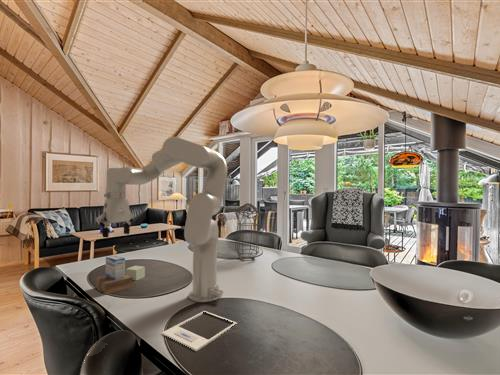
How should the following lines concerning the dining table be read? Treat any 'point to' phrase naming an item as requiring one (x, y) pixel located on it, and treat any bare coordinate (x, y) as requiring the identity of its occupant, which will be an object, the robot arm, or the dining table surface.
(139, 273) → the sage block
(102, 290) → the walnut block
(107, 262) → the medicine box
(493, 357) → the dining table surface
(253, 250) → the geometric lantern
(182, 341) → the photo frame
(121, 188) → the robot arm
